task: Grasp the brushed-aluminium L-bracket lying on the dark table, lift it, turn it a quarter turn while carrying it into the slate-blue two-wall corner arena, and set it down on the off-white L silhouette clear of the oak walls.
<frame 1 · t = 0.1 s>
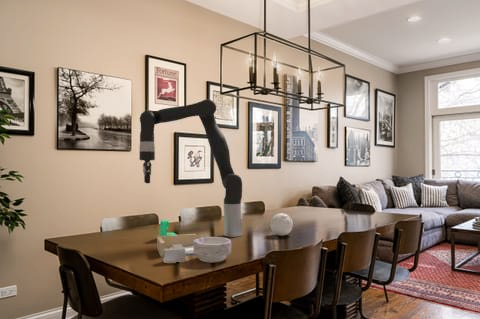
hand: (147, 183, 188), 29 cm above the table, fingers open, 8 cm apart
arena: (179, 251, 164), on the table
decorative ball: (281, 235, 200), on the table
camera mount: (169, 240, 191), on the table
white marbled bowl: (212, 260, 149), on the table
aluminium bracket: (178, 258, 152), on the table
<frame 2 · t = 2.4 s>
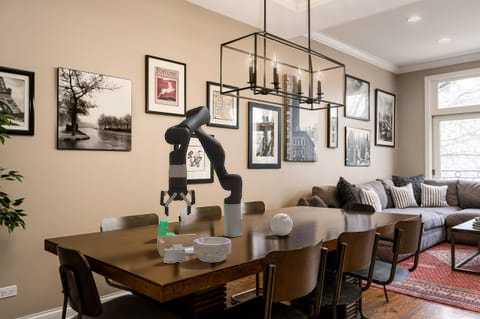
hand: (177, 215, 152), 17 cm above the table, fingers open, 8 cm apart
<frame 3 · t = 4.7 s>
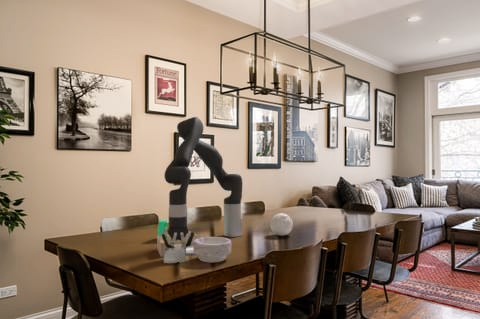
hand: (178, 257, 152), 0 cm above the table, fingers closed on aluminium bracket, 3 cm apart
aluminium bracket: (178, 258, 152), on the table, touching gripper
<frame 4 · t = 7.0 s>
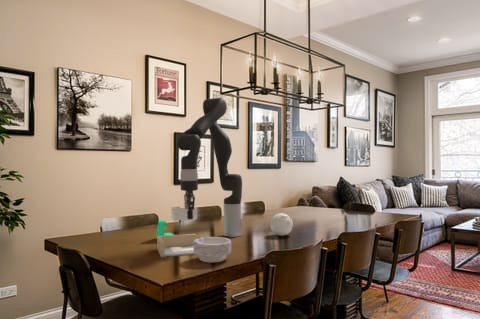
hand: (189, 218, 164), 15 cm above the table, fingers closed on aluminium bracket, 3 cm apart
aluminium bracket: (189, 219, 164), point 14 cm above the table, touching gripper
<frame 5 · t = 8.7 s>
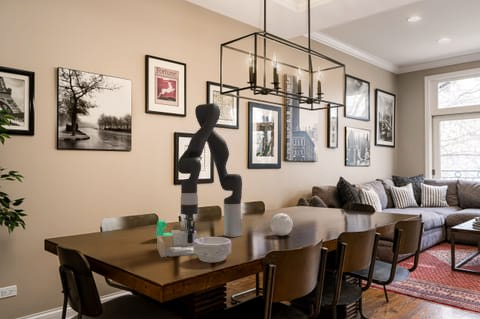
hand: (189, 241, 164), 4 cm above the table, fingers closed on aluminium bracket, 3 cm apart
aluminium bracket: (189, 242, 164), point 4 cm above the table, touching gripper
when the fingers open (3 cm above the table, at t = 9.8 s): aluminium bracket drops 1 cm, resting on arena.
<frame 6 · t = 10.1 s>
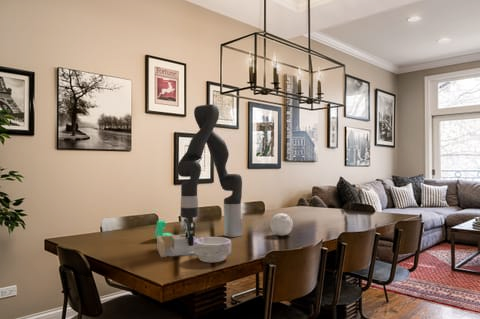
hand: (189, 244, 164), 3 cm above the table, fingers open, 6 cm apart
aluminium bracket: (189, 249, 164), point 1 cm above the table, touching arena
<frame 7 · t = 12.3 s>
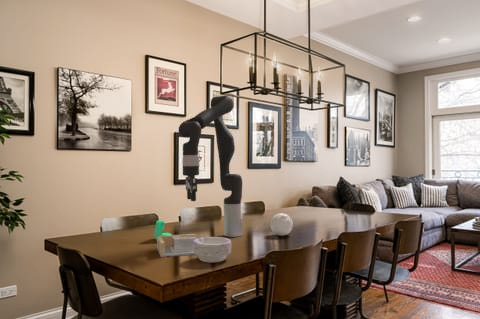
hand: (191, 200, 171), 22 cm above the table, fingers open, 8 cm apart
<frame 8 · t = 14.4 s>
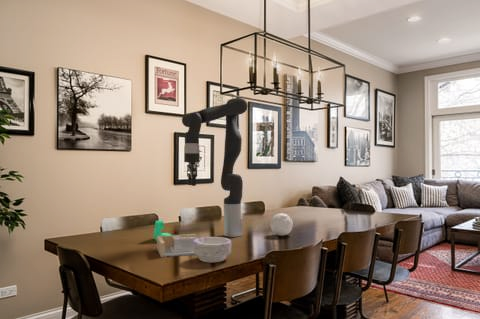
hand: (191, 185, 185), 28 cm above the table, fingers open, 8 cm apart
at the end: aluminium bracket 0.3 cm from the target spot, point 1.0 cm above the table; aluminium bracket tilted 0°; the gripper is holding nothing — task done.
